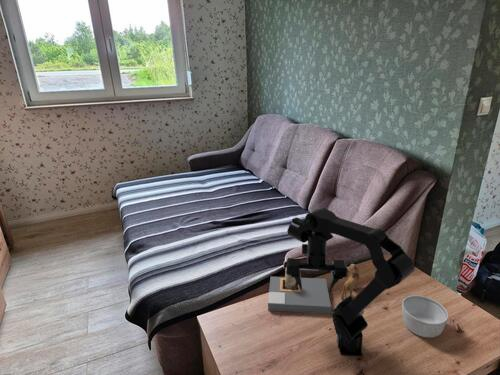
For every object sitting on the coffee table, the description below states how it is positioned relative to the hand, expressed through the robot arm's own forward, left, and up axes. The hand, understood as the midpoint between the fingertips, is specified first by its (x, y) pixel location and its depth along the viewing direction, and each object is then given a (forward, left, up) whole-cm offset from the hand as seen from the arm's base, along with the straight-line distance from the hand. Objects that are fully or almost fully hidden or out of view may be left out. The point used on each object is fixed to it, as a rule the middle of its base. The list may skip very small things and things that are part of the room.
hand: (315, 289), depth 100 cm
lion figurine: (-15, -17, -13) cm, 26 cm away
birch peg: (+8, -15, -13) cm, 21 cm away
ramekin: (-35, -1, -13) cm, 37 cm away
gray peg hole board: (+5, -12, -13) cm, 18 cm away
